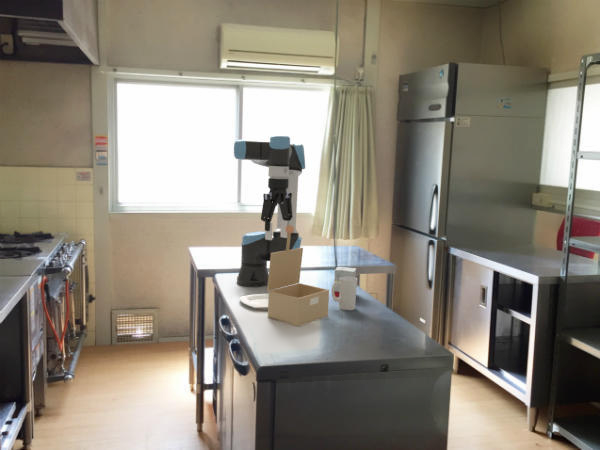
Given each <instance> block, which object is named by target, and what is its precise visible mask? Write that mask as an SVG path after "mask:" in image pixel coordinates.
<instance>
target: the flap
mask: <svg viewBox="0 0 600 450" xmlns="http://www.w3.org/2000/svg"><path fill="white" fill-rule="evenodd" d="M285 230H286V232H287V233H288V235H287V245H286V250H285V251H280V252H275V253H271V257H270V261H269V270H268V274H269V277H268V285H267V288H266V290H267V292H269V291H271V290H275V289H279V288H283V287H287V286H291V285H295V284H299V283H300V278H301V270H302V259H303V251H304V247H300V248H297V249H292V250H289V248H290V238H291V233H293V232H294V227H293V226H292V225H288V226H287V227H286V229H285Z"/></svg>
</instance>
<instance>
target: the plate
mask: <svg viewBox="0 0 600 450" xmlns="http://www.w3.org/2000/svg"><path fill="white" fill-rule="evenodd" d="M268 298H269V293H255V294H248V295H243V296H242V295H241V296H240V297H239V300H240V302H241V303H242V304H244V305H245V306H248V307H250V308H252V309H255V310H268Z"/></svg>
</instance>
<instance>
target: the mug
mask: <svg viewBox="0 0 600 450" xmlns="http://www.w3.org/2000/svg"><path fill="white" fill-rule="evenodd" d="M337 285H339V286H340V294H339V297H335V294H334V289H335V287H336V286H337ZM357 287H358V278H357V277H356V278H354V277H341V278H340V282H337V281H335V282H334V281H333V285H332V286H331V292H330V293H331V296H332V299H333V301H334V302H335V303H336V302H338V308H339V309H340V310H342V311H353V310H355V309H356V301H357V300H356V299H357Z"/></svg>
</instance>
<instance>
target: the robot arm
mask: <svg viewBox="0 0 600 450" xmlns="http://www.w3.org/2000/svg"><path fill="white" fill-rule="evenodd" d="M233 156H234V158H235V159H237V160H241V161H243V160H246V161H247V160H248V161H251V162H252V163H253V164H255V165H258V166H261V167H266V168H268V177H269V178H268V182H267V187H268V189H269V192H268V193H263V194H262V195H263V200H262V201H263V202H262V208H261V215H260V220H261V221H262V222H264V231H252V232H247V233H245V234H243V235H242V240H241V259H240V260H241V261H240V262H241V263H240V269H239V272H238V275H237V277H236V283H237V284H238V285H240V286H245V287H255V288H256V287H266V286H268V277H269V270H268V262H270V257H271V253H275V252H280V251H285V250H286V245H287V235H288V233H287V232H286V230H285V229H286V227H287V226H288V225H292V226H293V227H294V232H293V233H291V238H290V248H289V250H292V249H297V248H302V247H301V246H302V239H303V238H302V237H301V236H299V234H300V232H299V231H298V230H297V229H296V226H297V209H298V207H297V206H298V188H299V176H301V174H302V173H303V170H306V159H305V158H306V156H305V147H304V145H303V144H302V143H301V142H300V143H298V142H294V141H293V142H291V138H290V136H287V135H271V136H270V137H269V140H256V139H255V140H254V139H253V140H250V139H237V140H235V141H234V145H233ZM276 208H277V214H276V215H277V217H276V228H275V229H274V230H273V226H274V225H273V222H272V220H273V217H274V213H275V210H276Z"/></svg>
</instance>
